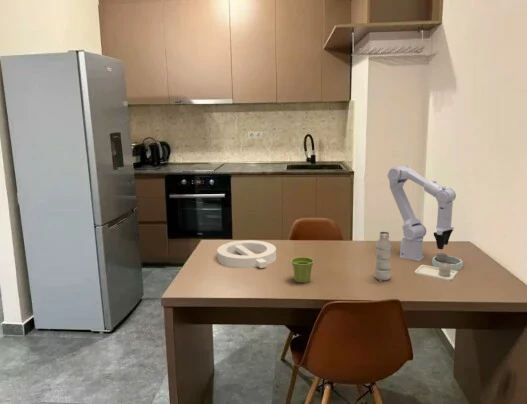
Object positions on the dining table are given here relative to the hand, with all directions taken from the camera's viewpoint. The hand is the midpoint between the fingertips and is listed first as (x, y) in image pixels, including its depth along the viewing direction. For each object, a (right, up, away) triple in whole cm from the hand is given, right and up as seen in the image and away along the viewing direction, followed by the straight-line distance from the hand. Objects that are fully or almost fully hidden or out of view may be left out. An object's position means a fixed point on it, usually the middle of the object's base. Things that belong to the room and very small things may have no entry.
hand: (442, 246), depth 194 cm
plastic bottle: (-30, -12, -13) cm, 35 cm away
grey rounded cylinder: (-4, -11, -11) cm, 16 cm away
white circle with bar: (-87, -8, +17) cm, 89 cm away
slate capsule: (0, -8, +2) cm, 8 cm away
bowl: (+2, -9, +1) cm, 9 cm away
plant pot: (-63, -13, -12) cm, 65 cm away
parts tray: (-6, -11, -8) cm, 15 cm away
